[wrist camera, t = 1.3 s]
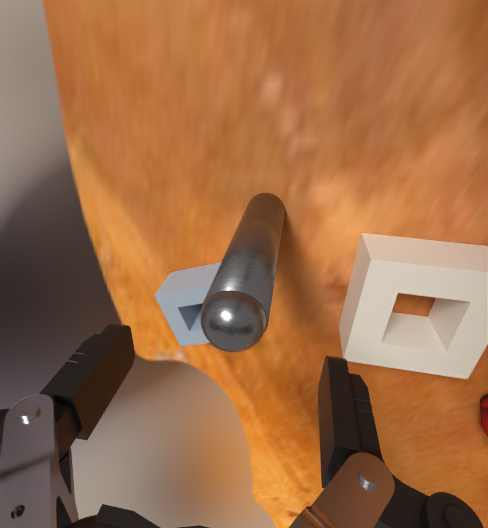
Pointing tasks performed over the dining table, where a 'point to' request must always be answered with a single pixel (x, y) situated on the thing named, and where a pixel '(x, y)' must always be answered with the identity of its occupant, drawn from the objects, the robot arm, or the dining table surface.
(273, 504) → the dining table surface
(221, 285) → the grey metal peg
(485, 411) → the red clay folk toy
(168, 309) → the blue-grey square-hole block
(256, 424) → the dining table surface
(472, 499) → the dining table surface
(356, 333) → the white square-hole block
